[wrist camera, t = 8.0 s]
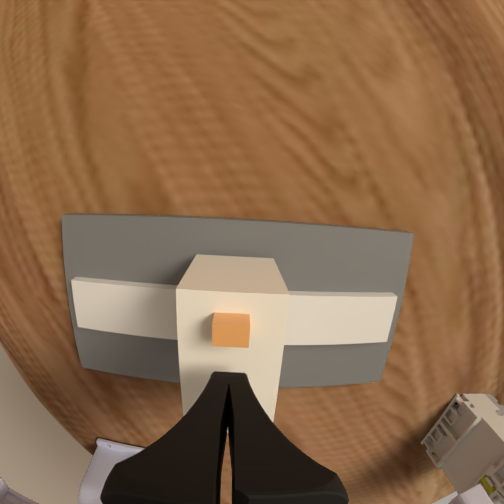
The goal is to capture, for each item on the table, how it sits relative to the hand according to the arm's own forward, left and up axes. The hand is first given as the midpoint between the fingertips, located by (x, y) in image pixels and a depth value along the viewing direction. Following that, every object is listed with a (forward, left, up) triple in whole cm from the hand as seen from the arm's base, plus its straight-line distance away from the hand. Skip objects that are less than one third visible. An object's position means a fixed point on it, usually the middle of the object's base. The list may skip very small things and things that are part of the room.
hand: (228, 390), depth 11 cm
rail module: (0, 0, -7) cm, 7 cm away
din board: (0, 0, -9) cm, 9 cm away
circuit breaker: (+30, -16, -9) cm, 35 cm away
